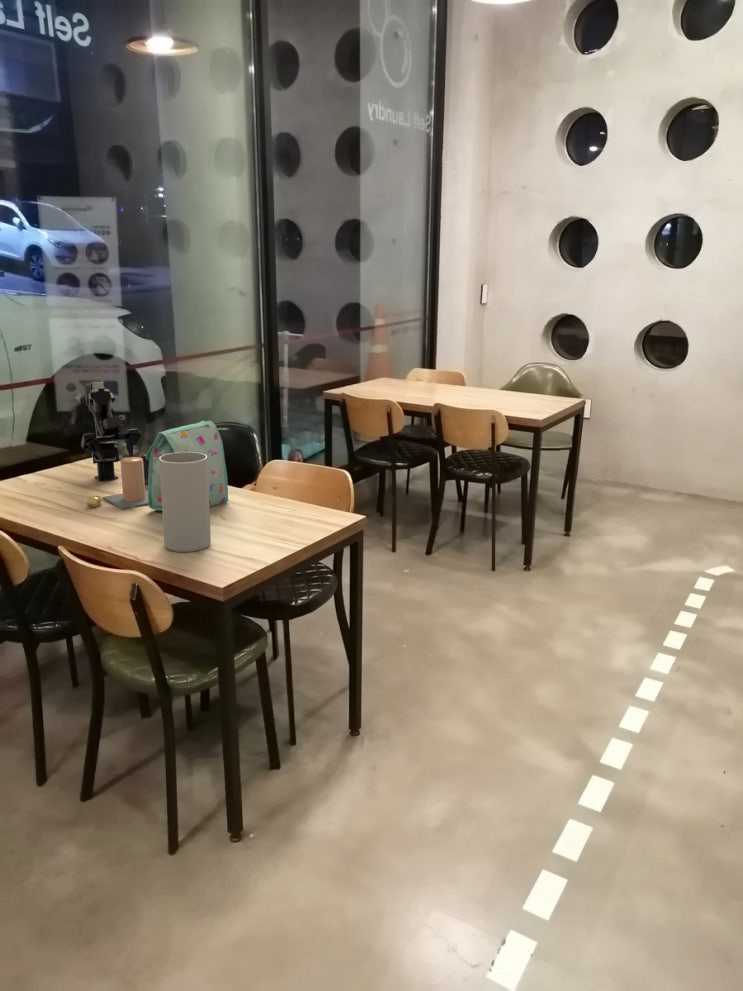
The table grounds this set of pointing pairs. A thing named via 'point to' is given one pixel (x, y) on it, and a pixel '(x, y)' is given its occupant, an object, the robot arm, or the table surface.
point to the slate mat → (124, 504)
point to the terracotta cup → (133, 479)
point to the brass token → (93, 501)
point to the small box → (145, 468)
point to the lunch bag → (189, 440)
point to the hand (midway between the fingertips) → (118, 459)
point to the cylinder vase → (185, 501)
